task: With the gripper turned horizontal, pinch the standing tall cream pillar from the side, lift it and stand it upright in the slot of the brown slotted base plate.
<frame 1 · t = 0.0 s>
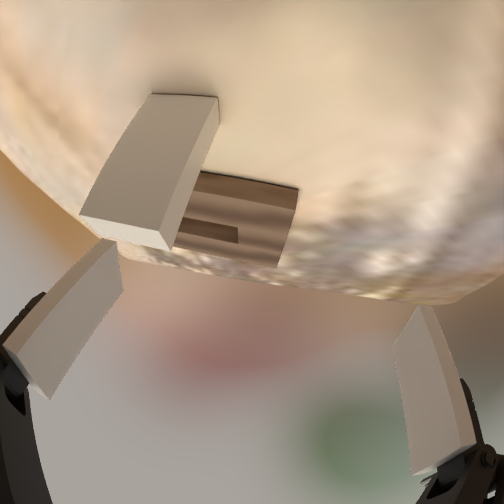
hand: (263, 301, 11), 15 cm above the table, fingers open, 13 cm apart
brown slotted base plate: (206, 212, 38), on the table
tall cream pillar: (184, 108, 21), on the table
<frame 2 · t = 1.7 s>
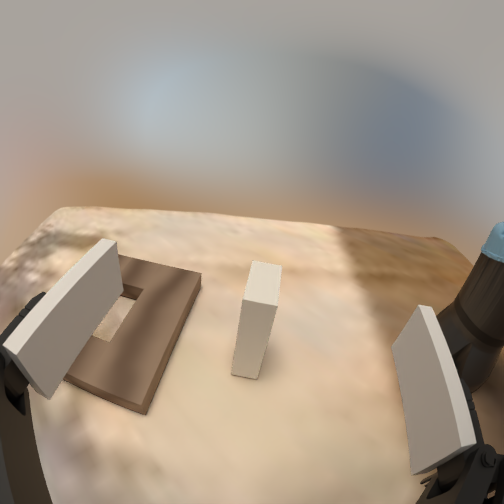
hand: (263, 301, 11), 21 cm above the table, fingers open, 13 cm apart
brown slotted base plate: (115, 321, 34), on the table
tall cream pillar: (248, 356, 33), on the table
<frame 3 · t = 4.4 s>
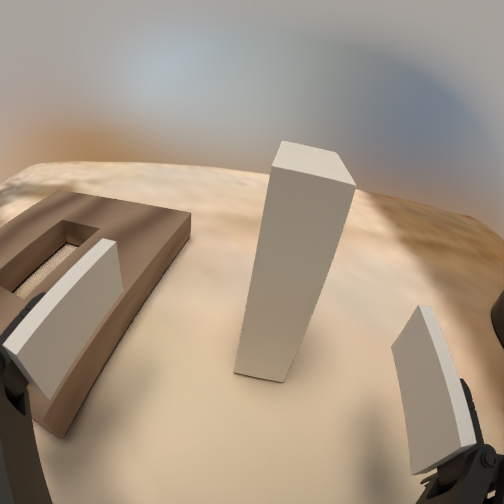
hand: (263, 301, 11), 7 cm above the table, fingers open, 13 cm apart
brown slotted base plate: (52, 277, 19), on the table
tall cream pillar: (265, 341, 18), on the table
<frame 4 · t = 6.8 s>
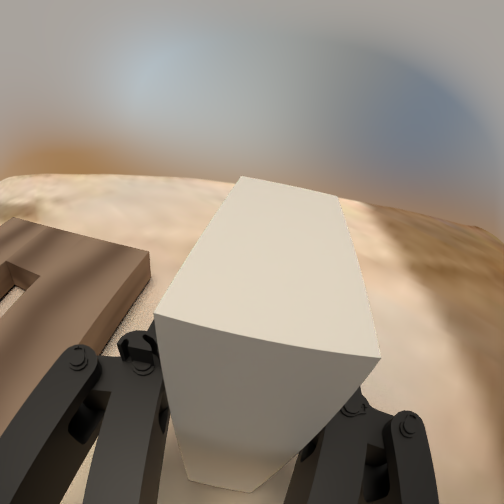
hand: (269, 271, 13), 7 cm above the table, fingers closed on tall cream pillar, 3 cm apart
tall cream pillar: (231, 437, 12), on the table, touching gripper
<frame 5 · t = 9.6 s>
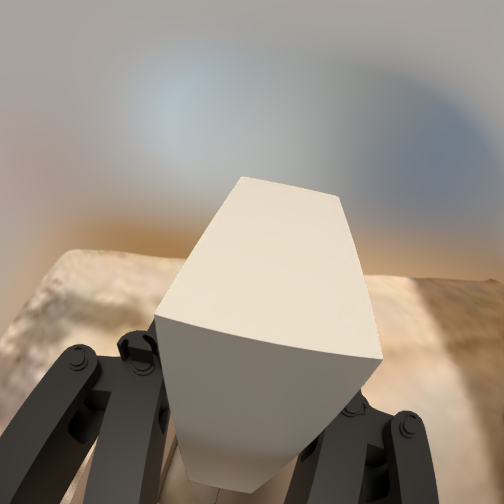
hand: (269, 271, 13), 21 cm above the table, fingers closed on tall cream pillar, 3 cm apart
brown slotted base plate: (196, 468, 20), on the table
tall cream pillar: (231, 438, 12), point 14 cm above the table, touching gripper
when the fingers open (8 cm above the table, at t = 12.9 s): tall cream pillar drops 1 cm, resting in brown slotted base plate.
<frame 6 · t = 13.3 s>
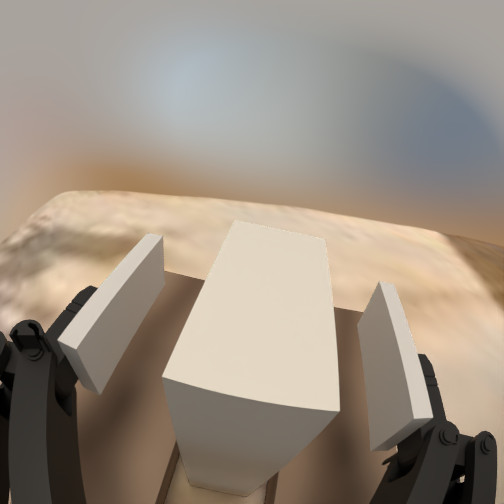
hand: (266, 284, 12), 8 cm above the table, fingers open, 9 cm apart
brown slotted base plate: (228, 445, 13), on the table
tall cream pillar: (228, 446, 13), resting in brown slotted base plate
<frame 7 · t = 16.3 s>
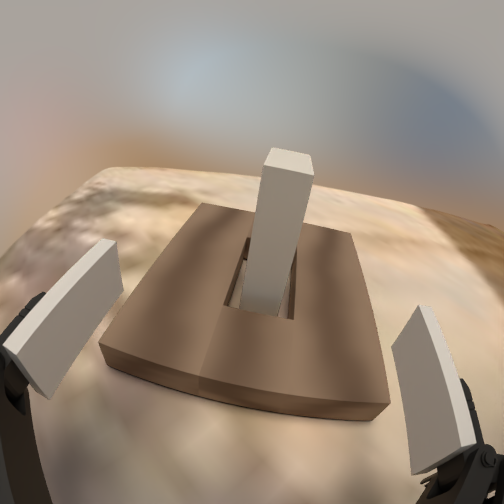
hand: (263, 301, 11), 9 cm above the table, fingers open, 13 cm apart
brown slotted base plate: (261, 294, 25), on the table
tall cream pillar: (261, 294, 25), resting in brown slotted base plate
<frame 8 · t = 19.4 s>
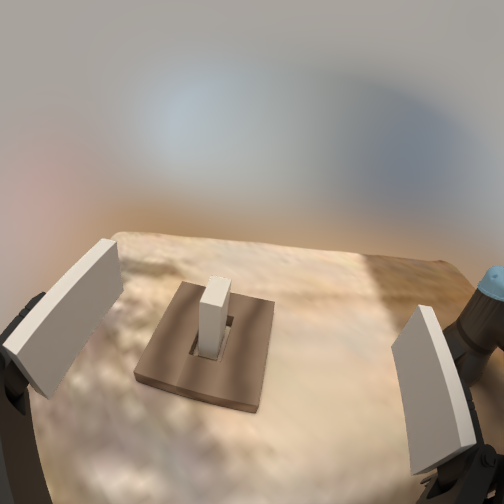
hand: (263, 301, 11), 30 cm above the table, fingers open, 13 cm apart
brown slotted base plate: (212, 343, 45), on the table
tall cream pillar: (212, 344, 45), resting in brown slotted base plate
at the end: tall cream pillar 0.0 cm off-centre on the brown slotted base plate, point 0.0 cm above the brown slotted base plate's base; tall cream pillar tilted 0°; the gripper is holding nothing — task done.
